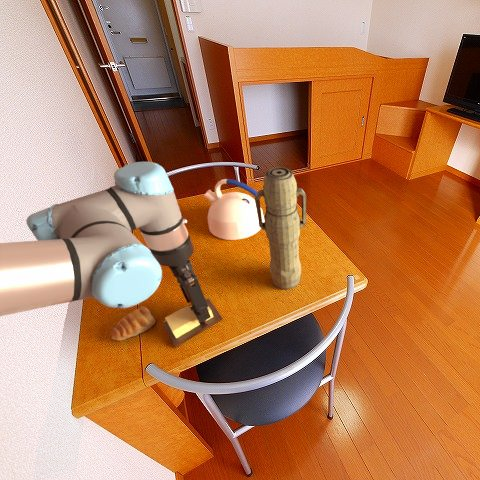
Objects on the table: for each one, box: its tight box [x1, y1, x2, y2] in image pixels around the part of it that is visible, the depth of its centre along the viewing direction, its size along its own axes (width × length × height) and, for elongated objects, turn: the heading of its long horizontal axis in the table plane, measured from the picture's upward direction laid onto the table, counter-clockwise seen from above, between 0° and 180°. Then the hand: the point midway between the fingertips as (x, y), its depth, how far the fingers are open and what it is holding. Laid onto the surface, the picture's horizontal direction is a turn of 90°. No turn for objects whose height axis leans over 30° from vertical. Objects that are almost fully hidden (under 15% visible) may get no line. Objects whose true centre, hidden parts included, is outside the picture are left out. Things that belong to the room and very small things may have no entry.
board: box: [162, 297, 223, 348], centre depth 70 cm, size 12×8×1 cm, turn 131°
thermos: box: [254, 166, 307, 291], centre depth 72 cm, size 9×12×35 cm
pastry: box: [109, 306, 156, 342], centre depth 68 cm, size 9×7×4 cm
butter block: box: [164, 304, 200, 338], centre depth 68 cm, size 6×5×3 cm
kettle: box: [203, 178, 265, 241], centre depth 97 cm, size 20×21×18 cm
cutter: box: [182, 286, 207, 324], centre depth 68 cm, size 2×7×9 cm, turn 41°
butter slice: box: [206, 306, 213, 321], centre depth 71 cm, size 2×5×3 cm, turn 41°
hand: (198, 309), depth 69 cm, fingers closed on cutter, 7 cm apart
